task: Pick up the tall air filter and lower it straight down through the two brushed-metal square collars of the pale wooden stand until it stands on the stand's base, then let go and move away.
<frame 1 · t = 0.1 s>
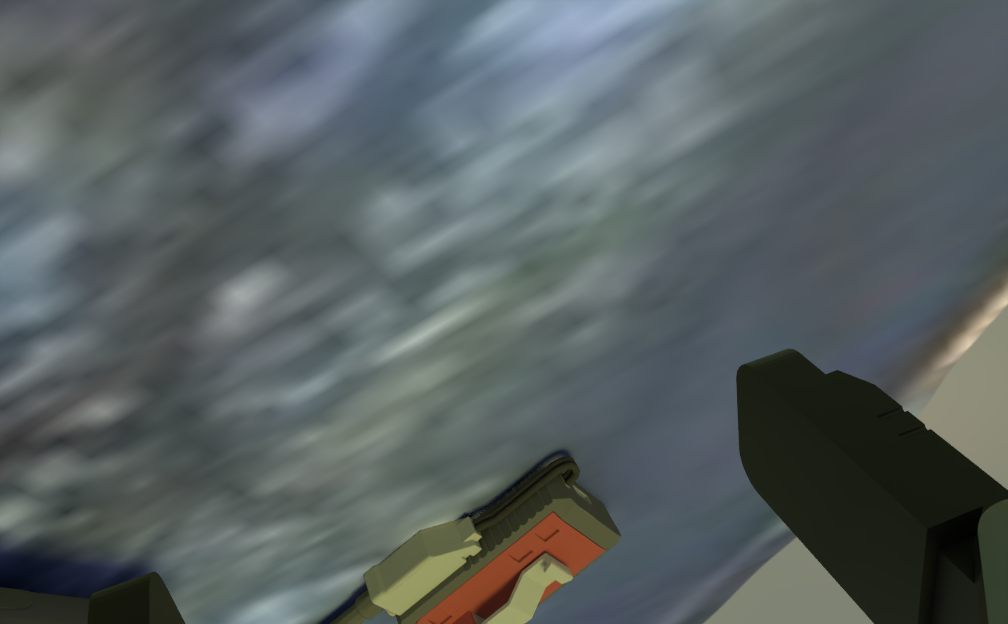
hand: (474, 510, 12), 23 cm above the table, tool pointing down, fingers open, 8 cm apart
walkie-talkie: (441, 568, 50), on the table
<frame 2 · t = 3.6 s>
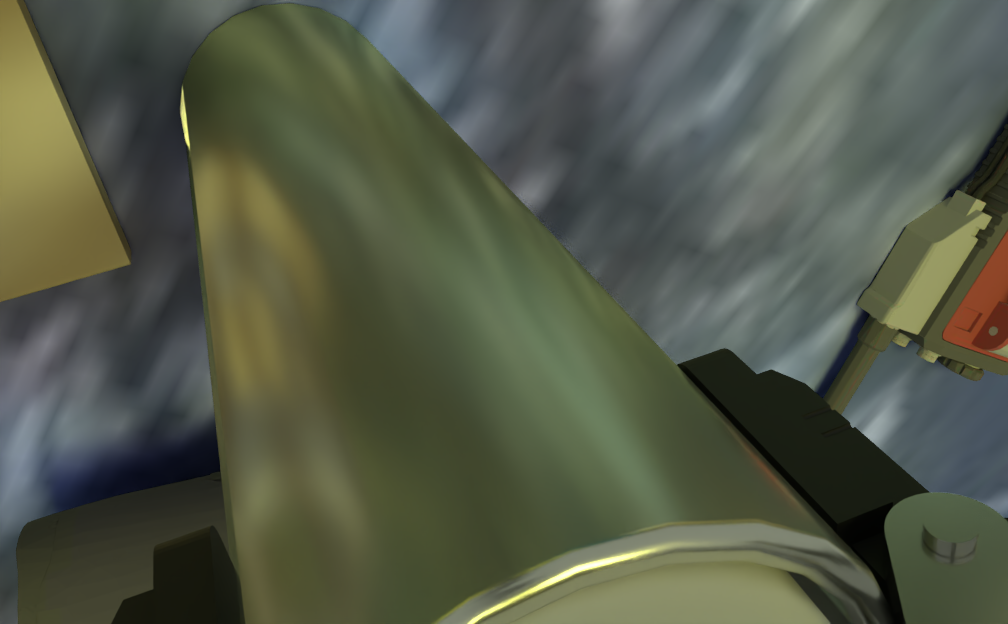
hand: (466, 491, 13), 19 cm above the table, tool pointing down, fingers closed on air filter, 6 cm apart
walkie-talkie: (935, 281, 42), on the table
bluetooth speaker: (373, 476, 36), on the table
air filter: (289, 108, 29), on the table, touching gripper
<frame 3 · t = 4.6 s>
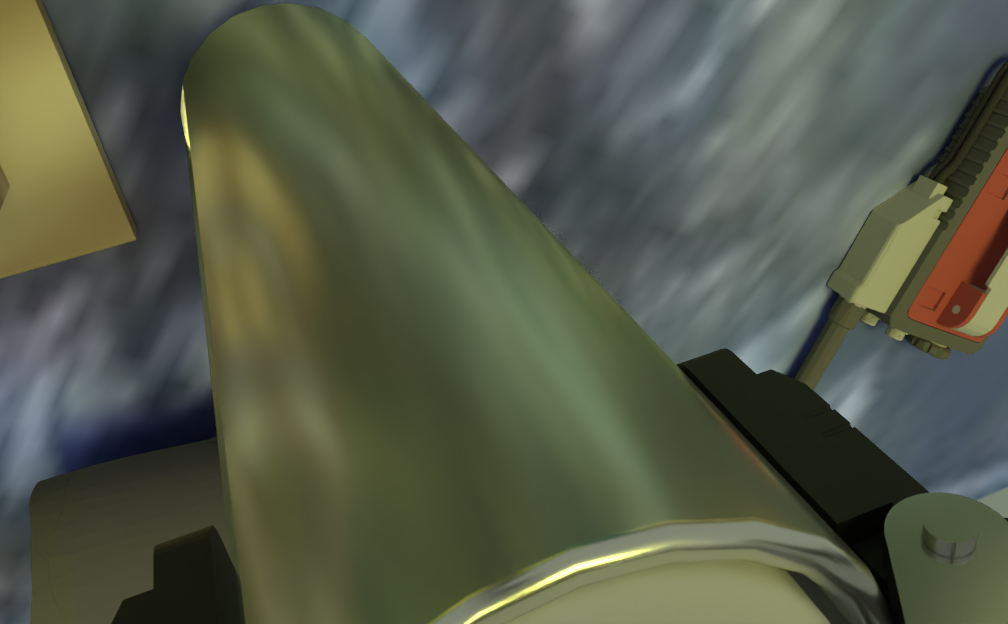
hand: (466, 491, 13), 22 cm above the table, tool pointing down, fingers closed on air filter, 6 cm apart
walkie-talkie: (904, 264, 44), on the table
bluetooth speaker: (364, 447, 38), on the table
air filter: (289, 108, 29), point 2 cm above the table, touching gripper
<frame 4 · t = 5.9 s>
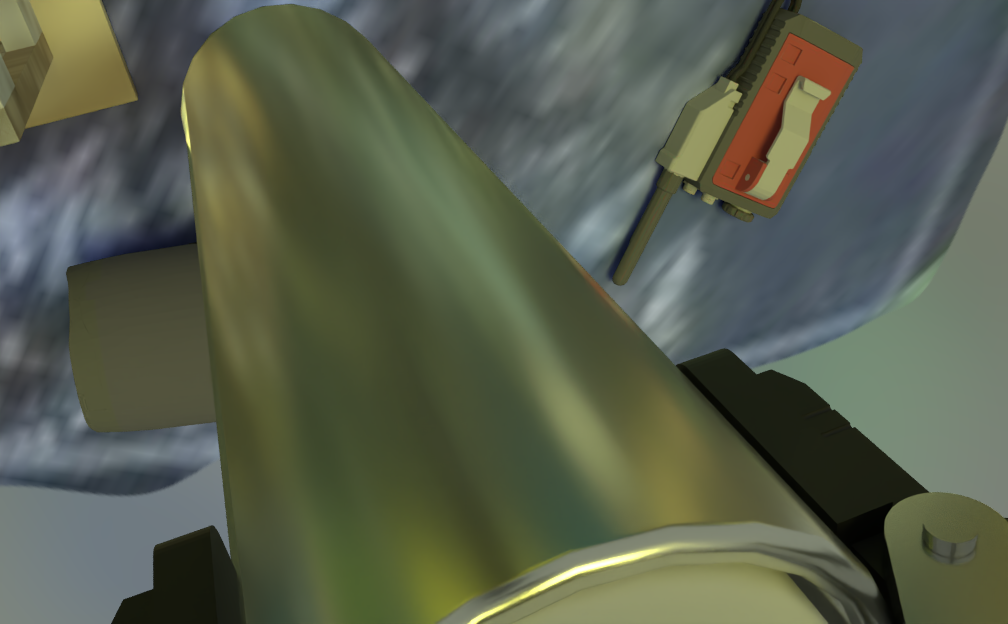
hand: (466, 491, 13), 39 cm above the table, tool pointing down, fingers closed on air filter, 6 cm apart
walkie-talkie: (719, 149, 58), on the table
bluetooth speaker: (304, 273, 53), on the table
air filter: (290, 109, 29), point 19 cm above the table, touching gripper
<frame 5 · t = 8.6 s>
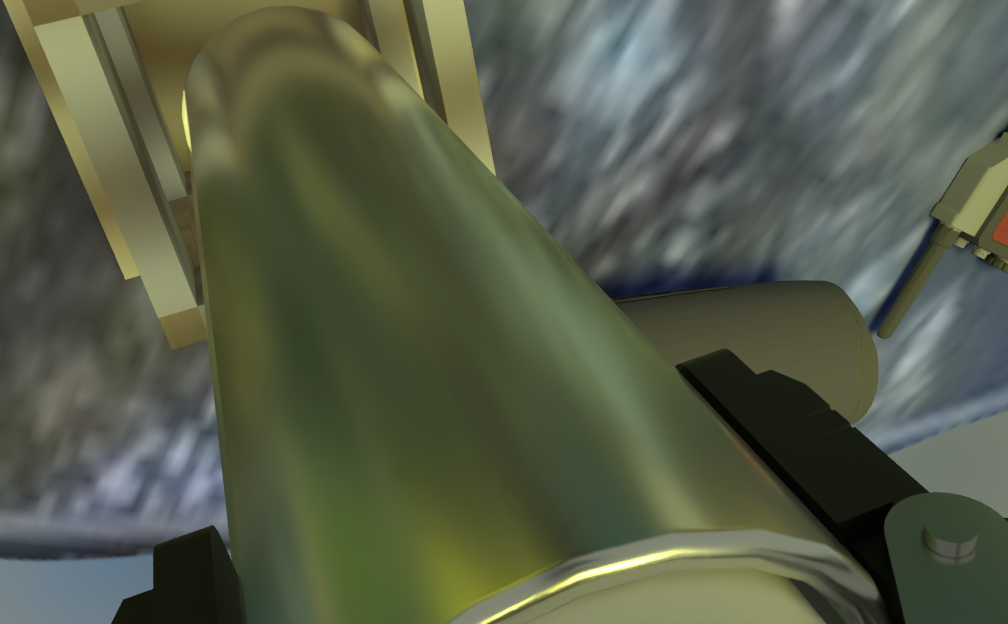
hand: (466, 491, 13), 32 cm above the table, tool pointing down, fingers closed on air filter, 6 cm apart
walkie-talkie: (985, 203, 58), on the table
bluetooth speaker: (598, 337, 52), on the table
collar stand: (254, 37, 39), on the table
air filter: (290, 111, 29), point 12 cm above the table, touching gripper
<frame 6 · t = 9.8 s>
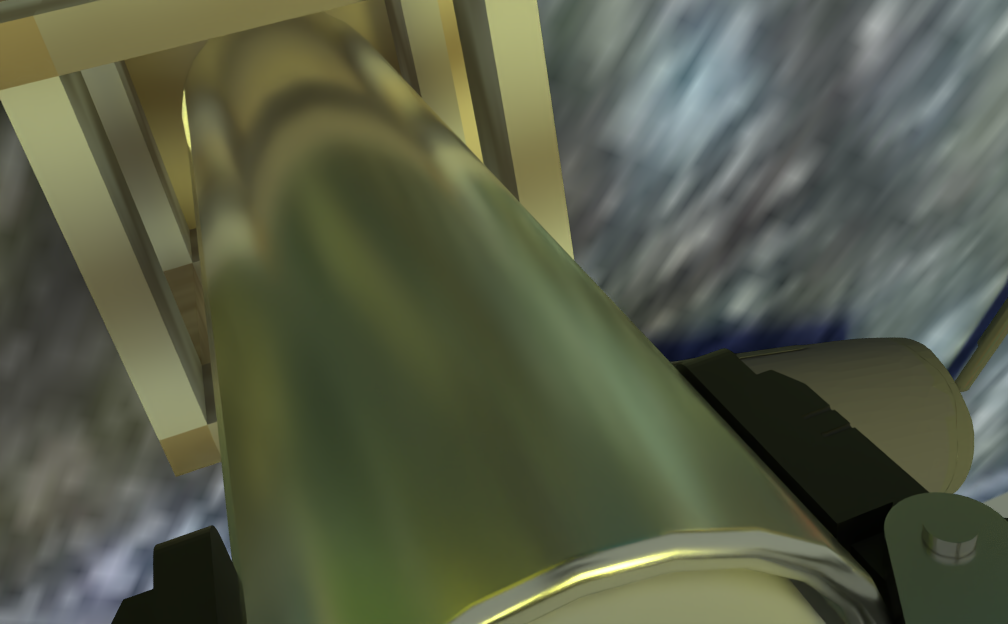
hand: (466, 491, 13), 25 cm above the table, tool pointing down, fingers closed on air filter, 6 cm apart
bluetooth speaker: (650, 398, 47), on the table
collar stand: (270, 73, 33), on the table
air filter: (291, 111, 29), point 5 cm above the table, touching gripper
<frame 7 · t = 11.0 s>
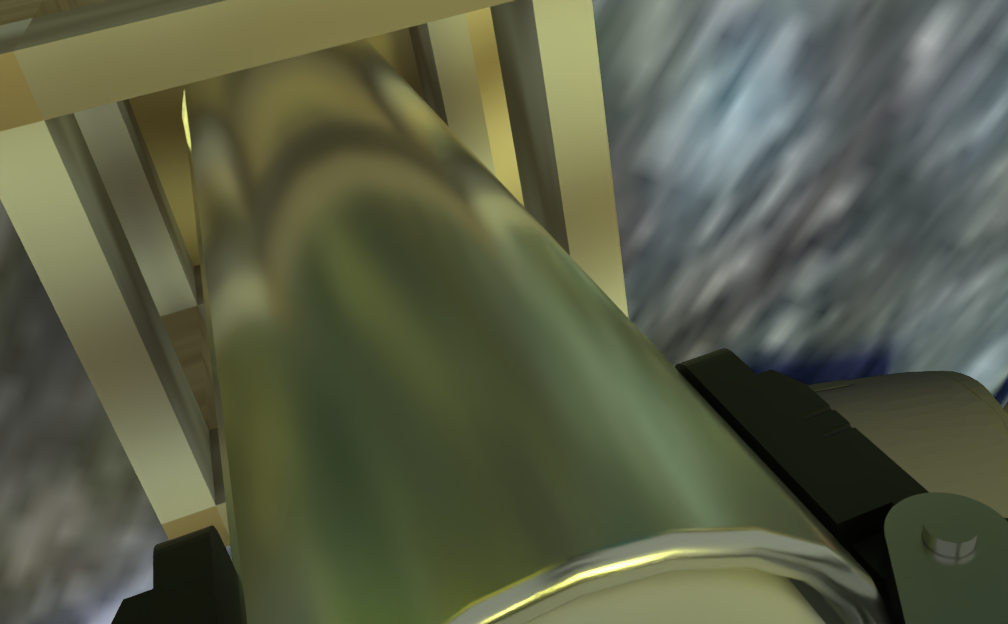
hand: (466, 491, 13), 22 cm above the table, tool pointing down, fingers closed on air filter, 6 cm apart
bluetooth speaker: (682, 434, 44), on the table
collar stand: (281, 97, 31), on the table
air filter: (290, 111, 29), point 2 cm above the table, touching gripper
when the fingers open (22 cm above the table, at t = 11.7 s): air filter drops 1 cm, resting on collar stand.
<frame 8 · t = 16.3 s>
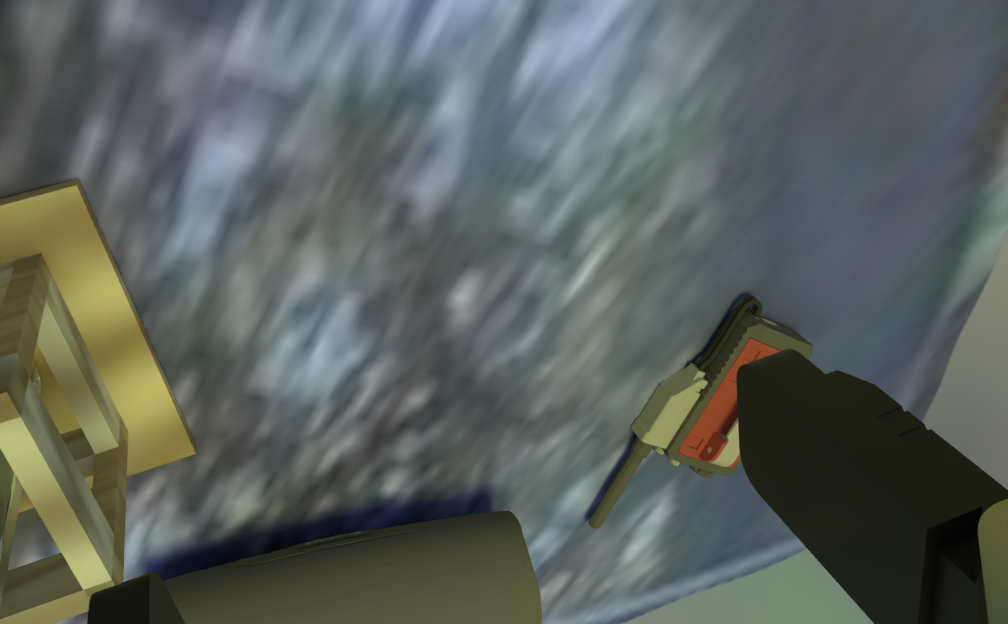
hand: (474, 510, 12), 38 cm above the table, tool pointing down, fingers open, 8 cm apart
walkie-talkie: (686, 413, 67), on the table
bluetooth speaker: (330, 554, 61), on the table
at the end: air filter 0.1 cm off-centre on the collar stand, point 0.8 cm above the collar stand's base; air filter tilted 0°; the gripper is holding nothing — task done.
